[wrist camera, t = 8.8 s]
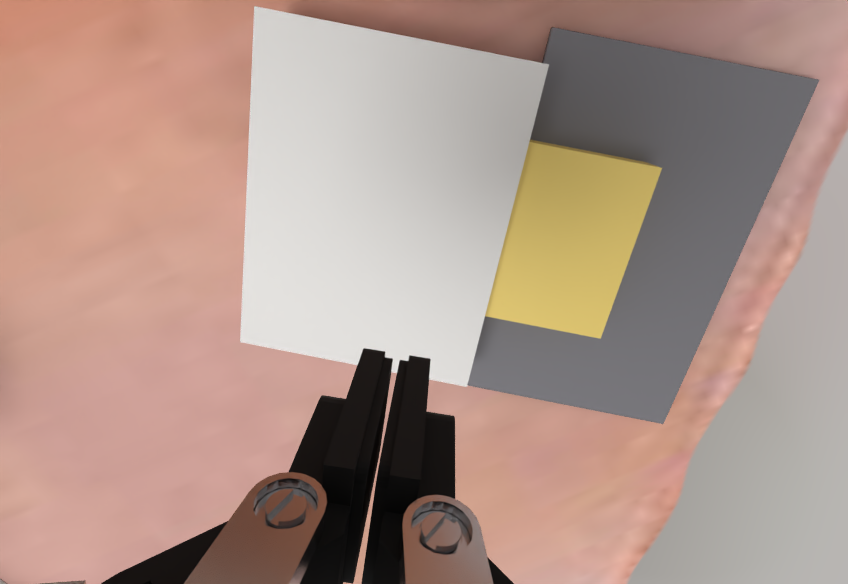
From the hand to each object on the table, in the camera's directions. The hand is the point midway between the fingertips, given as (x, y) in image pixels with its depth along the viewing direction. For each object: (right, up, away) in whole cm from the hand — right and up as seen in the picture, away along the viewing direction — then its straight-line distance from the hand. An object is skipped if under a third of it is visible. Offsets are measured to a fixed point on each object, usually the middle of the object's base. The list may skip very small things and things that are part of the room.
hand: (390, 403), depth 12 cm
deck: (-2, +8, +18) cm, 19 cm away
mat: (+12, +5, +18) cm, 22 cm away
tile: (+9, +6, +17) cm, 20 cm away
